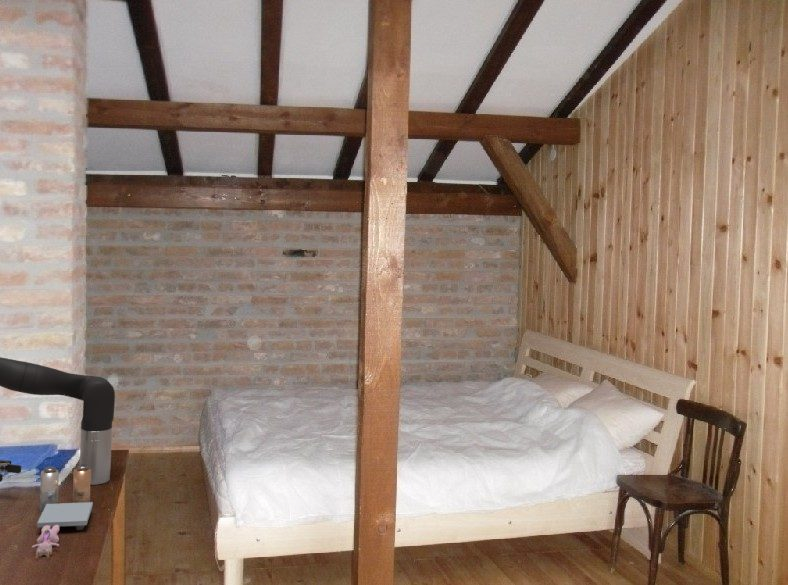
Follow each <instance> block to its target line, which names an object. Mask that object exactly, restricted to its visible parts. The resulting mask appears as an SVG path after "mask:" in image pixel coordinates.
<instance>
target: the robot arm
mask: <svg viewBox="0 0 788 585" xmlns="http://www.w3.org/2000/svg"><path fill="white" fill-rule="evenodd" d="M0 387H1V388H4V389H7V390H9V391H13V392H18V393H23V394H29V395H33V396H64V397H69V398H73V399H77V400H79V401H82V402H83V403H82V404H83V405H82V406H83V408H82V418H81V421H80V424H81V425H80V446H79V447H80V448H79V465H88V468H91V483H90V486H92V485H101V484H105V483H107V482H109V481H111V461H112V437H113V435H112V433H113V432H112V431H113V421H114V418H115V401H116V400H115V399H116V398H115V397H116V396H115V395H116V394H115V389H114V388H115V387H114V386H113V385H112V384H111V382H110V381H108V379H106V378H105V377H102V376H96V375H85V374H77V373H70V372H67V371H62V370H61V369H60V370H59V369H56V368H53V367H48V366H45V365H43V364H37V363H33V362H28V361H22V360H17V359H12V358H6V357H0ZM3 473H11V474H12V473H13V474H20V473H22V466H21V465H20V464H12V460H5V459H4V460H3V459H0V483H2V481H3V480H4V478H3V476H4V475H3Z"/></svg>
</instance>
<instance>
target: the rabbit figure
mask: <svg viewBox="0 0 788 585" xmlns="http://www.w3.org/2000/svg"><path fill="white" fill-rule="evenodd" d="M41 528H42V527H41ZM40 530H41V529H40ZM59 532H60V526H59V525H54V526H53V527H50V525H46V526H44V527H43V528H42V530H41V534H40V536H38V538H37V539H36V542H37V544H34V545H32V546H31V548H32V549H34V548H36V547H37V549H36V551H35V555H36V556H35V558H34V560H37V559H40V558H41V557H42V556H45V559H50V556H51V555H52V553H53V546H56V547H59V546H60V544H59V541H60V538H59V535H58V533H59Z"/></svg>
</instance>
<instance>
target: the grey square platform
mask: <svg viewBox="0 0 788 585" xmlns="http://www.w3.org/2000/svg"><path fill="white" fill-rule="evenodd" d="M93 504H94V503H93V501H90V502H85V503H73V502H68V503H67V502H64V503H62V502H61V503H58V504H46V506H45V508H44V510H43V512H41V515H40V516H39V519H38V521H37V523H36V528H41V529H40V530H42V528H43V527H44V526H46V525H50V527H51V528H52V527H53V526H54V525H59V527H75V530H76V531H78V530H81V531H83V530H84V529H85V526H87V525H88V522H89V519H90V516H91V513H92V509H93V507H94V506H93Z"/></svg>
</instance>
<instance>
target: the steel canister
mask: <svg viewBox="0 0 788 585" xmlns="http://www.w3.org/2000/svg"><path fill="white" fill-rule="evenodd" d="M59 473H60V471H59V470H58V469H57V468H56V466H46V467H44V468H43V470H41V472H40V491H39V494H40V495H39V511H40V512H41V511H42V512H43V510H44V508H45V506H46V504H59V503H58V502H59ZM42 512H41V513H42Z"/></svg>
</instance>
